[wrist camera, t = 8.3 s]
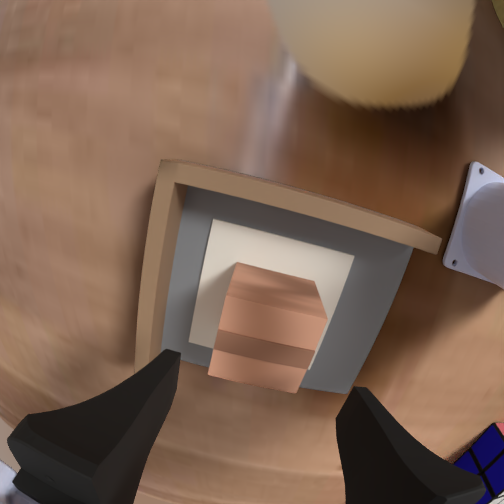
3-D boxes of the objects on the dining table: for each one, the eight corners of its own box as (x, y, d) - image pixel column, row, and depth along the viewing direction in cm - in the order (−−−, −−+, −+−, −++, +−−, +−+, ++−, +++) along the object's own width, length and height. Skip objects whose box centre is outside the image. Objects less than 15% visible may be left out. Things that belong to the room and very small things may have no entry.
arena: (416, 225, 18) (442, 238, 15) (345, 389, 22) (354, 419, 19) (180, 159, 18) (160, 159, 15) (150, 345, 22) (134, 372, 19)
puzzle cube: (493, 421, 24) (524, 472, 15) (522, 421, 25) (549, 463, 15) (445, 469, 27) (465, 520, 17) (480, 466, 27) (500, 508, 18)
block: (314, 281, 19) (328, 320, 14) (291, 345, 20) (296, 394, 16) (237, 261, 19) (225, 295, 14) (220, 329, 20) (207, 375, 15)
